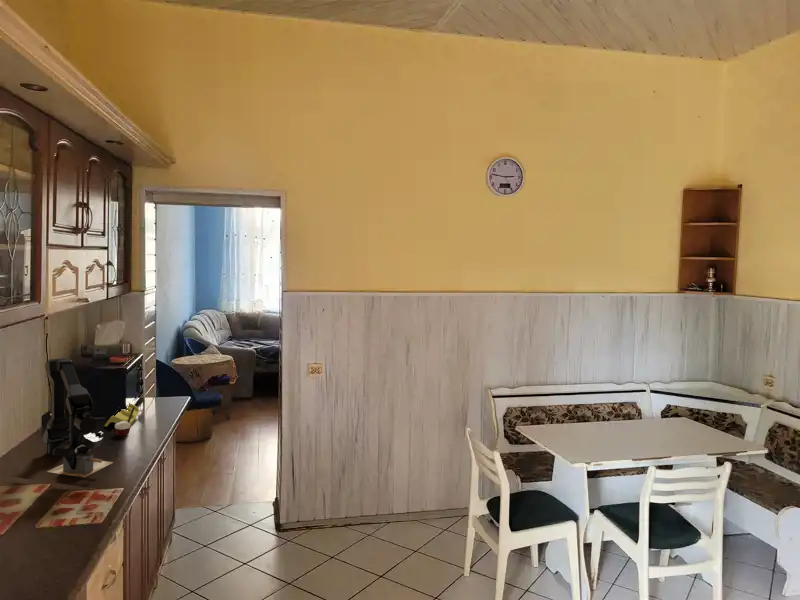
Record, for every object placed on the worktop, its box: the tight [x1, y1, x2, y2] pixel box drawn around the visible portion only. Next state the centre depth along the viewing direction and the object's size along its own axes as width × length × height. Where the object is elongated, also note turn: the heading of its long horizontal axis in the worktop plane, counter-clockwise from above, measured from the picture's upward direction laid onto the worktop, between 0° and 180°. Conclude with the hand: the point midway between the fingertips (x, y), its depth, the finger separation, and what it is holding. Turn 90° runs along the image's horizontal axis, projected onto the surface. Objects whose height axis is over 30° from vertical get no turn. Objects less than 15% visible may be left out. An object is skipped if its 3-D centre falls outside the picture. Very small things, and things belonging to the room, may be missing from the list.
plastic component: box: [104, 402, 140, 427], centre depth 294 cm, size 20×7×10 cm
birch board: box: [46, 460, 114, 478], centre depth 232 cm, size 16×16×2 cm
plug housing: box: [62, 453, 103, 475], centre depth 226 cm, size 14×4×6 cm, turn 79°
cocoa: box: [111, 407, 135, 437], centre depth 274 cm, size 10×6×12 cm, turn 109°
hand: (78, 467), depth 227 cm, fingers closed on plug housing, 4 cm apart
